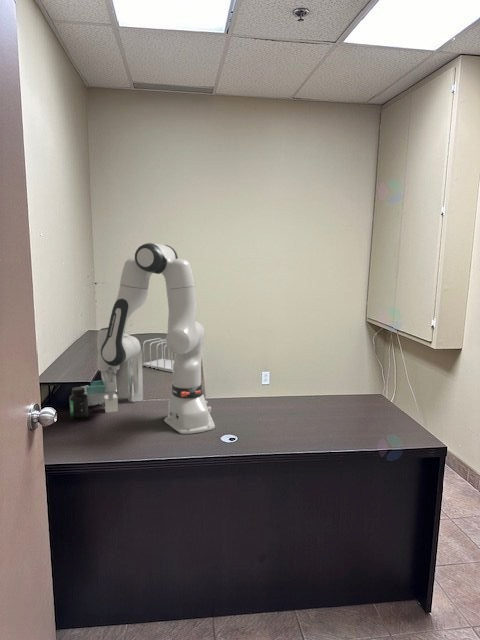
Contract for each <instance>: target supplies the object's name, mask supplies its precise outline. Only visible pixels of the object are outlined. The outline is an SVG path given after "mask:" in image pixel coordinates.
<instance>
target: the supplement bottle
mask: <svg viewBox="0 0 480 640" xmlns="http://www.w3.org/2000/svg"><path fill="white" fill-rule="evenodd" d="M68 400H69V415H70V416H69V417H70V419H71V420H73V421H79V420H80V421H81V420H84V419H87V418H88V417H89V406H88V397H87V395H86V394H85V389H84V387H81V386H75V387H72V388H71V395H70V396H69V399H68Z"/></svg>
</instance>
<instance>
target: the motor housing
mask: <svg viewBox="0 0 480 640" xmlns="http://www.w3.org/2000/svg"><path fill="white" fill-rule="evenodd" d="M91 382H92V381H91ZM80 387H84V389H85V394H86V395H87V397H88V407H90V406H96V405H97V406H98V404H99V405H102V403H103V402H104V395H108V394H106V392H105V385H104V383H103V381H102V379H101V380H93V382H92V383H91V385H90V386H89V385H83V386H82V385H81V386H80ZM114 394H116V395H117V396H119V389H118V388H117V389H116V392H114Z"/></svg>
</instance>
